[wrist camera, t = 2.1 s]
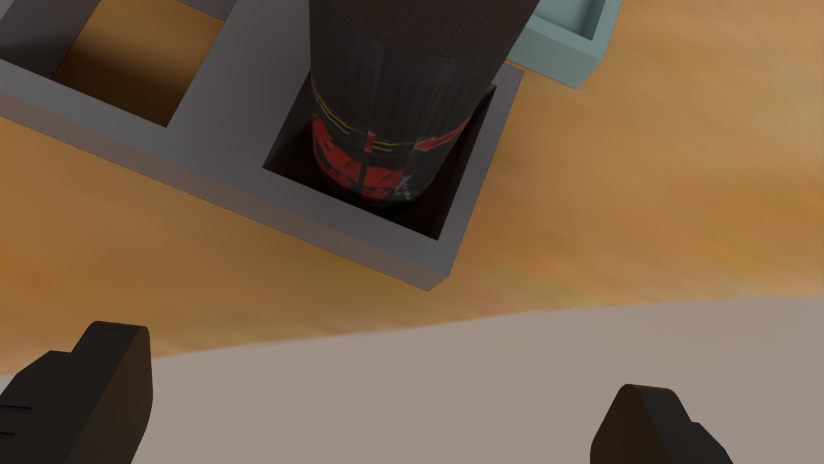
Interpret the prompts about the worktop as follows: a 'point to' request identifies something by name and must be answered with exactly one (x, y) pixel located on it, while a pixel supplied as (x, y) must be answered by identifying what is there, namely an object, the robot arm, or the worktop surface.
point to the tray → (566, 38)
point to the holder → (240, 129)
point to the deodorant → (399, 90)
